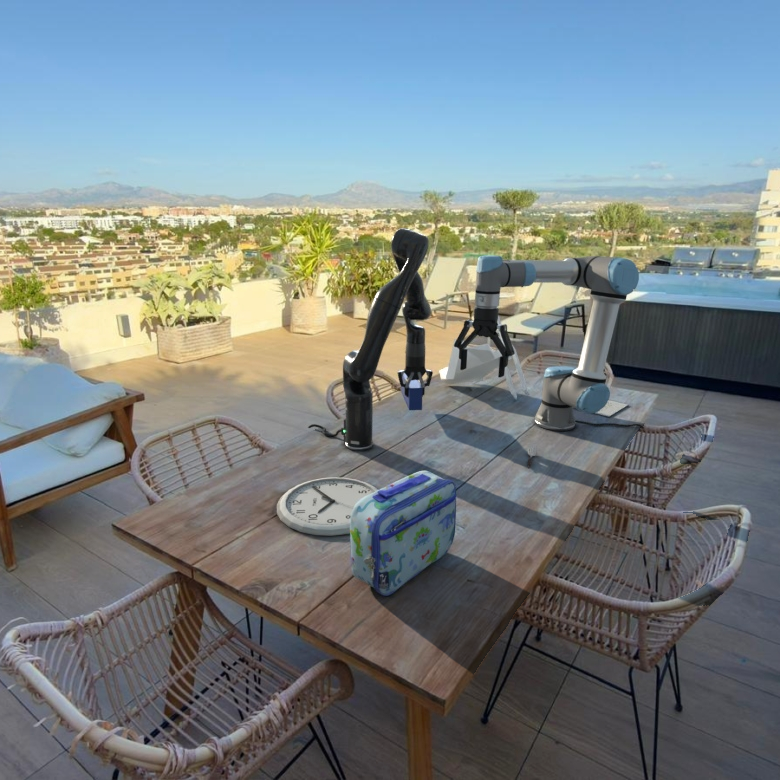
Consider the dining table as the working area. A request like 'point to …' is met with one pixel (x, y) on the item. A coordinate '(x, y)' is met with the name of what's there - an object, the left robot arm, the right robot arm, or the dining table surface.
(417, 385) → the bar
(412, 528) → the lunch box
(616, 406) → the invitation card
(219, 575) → the dining table surface
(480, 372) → the white plastic object
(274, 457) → the dining table surface
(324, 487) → the wall clock
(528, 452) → the fork
